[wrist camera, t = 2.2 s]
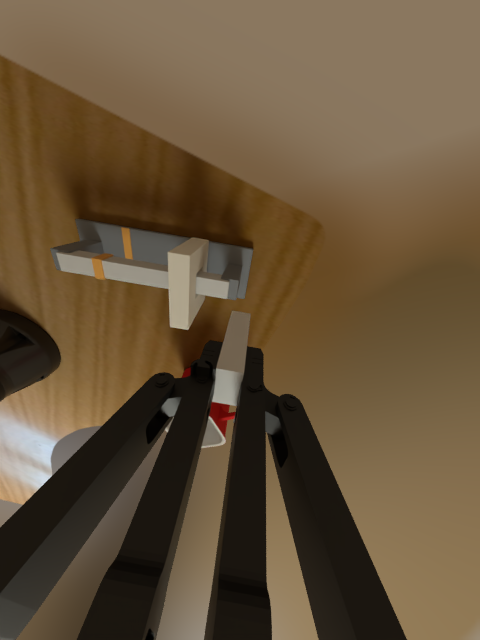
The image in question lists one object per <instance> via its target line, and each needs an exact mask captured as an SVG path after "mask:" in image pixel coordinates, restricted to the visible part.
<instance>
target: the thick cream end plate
mask: <svg viewBox="0 0 480 640" xmlns="http://www.w3.org/2000/svg"><path fill="white" fill-rule="evenodd" d="M208 246H209V240H206V239H200V238H194V237H192V238H191V239H189V240H187V241H186V242H184V243H182V244H180V245H179V246H177V247H175V248H174V249H172V250H170V251H169V252H168V279H169V313H170V327H173V328H179V329H185V330H188V329H189V327H190V326H191V324H192V322H193V320H194V318H195V316H196V315H197V313H198V311H199V309H200V307H201V305H202V304H203V302H204V300H205V295H201V294H195V291H196V274H197V272H198V271H202V272H207V261H208Z"/></svg>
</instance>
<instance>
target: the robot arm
mask: <svg viewBox="0 0 480 640" xmlns="http://www.w3.org/2000/svg"><path fill="white" fill-rule="evenodd" d="M250 315H251V314H249V313H243V312H237V311H232V313H231V316H230V320H229V324H228V327H227V331H226V334H225V338H224V342H217V341H212V340H210V341H209V342H208V343H206V344H205V347H204V349H203V352H202V355H201V357H200V359H198V360H195V361H194V362H193V363H192V364H191V375H190V376H188V377H184V378H174V377H173V375H171V374H170V373H165V372H164V373H158V374H155V375H154V376H152V377H151V378H150V379H149V380H148V381H147V382H146V383H145V384H144V385H143V386H142V387H141V388H140V389H139V390H138V391H137V392H136V393H135V394H134V395H133V396H132V397H131V398H130V399H129V400H128V401H127V402H126V403H125V404H124V405H123V406H122V407H121V408H120V409H119V410H118V411H117V412H116V413H115V414H114V415H113V416H112V417H111V418H110V419H109V420H108V421H107V422H106V423H105V424H104V425H103V426H102V427H101V428H100V429H99V430H98V431H97V432H96V433H95V434H94V435H93V436H92V437H91V438H90V439H89V440H88V441H87V442H86V443H85V444H84V445H83V446H82V447H81V448H80V449H79V450H78V451H77V452H76V453H75V454H74V455H73V456H72V457H71V458H70V459H69V460H68V461H67V462H66V463H65V464H64V465H63V466H62V467H61V468H60V469H59V470H58V471H57V472H56V473H55V474H54V475H53V476H52V477H51V478H50V479H49V480H48V481H47V482H46V483H45V484H44V485H43V486H42V487H41V488H40V489H39V490H38V491H37V492H36V493H35V494H34V495H33V496H32V497H31V498H30V499H29V500H28V501H27V502H26V503H25V504H24V505H23V506H22V507H21V508H20V509H18V511H17V512H16V513H14V515H12V517H10V519H8V520H7V521H6V522H5V524H3V525H2V527H0V640H16V638H17V637H18V636H19V634H20V633H21V631H22V630H23V629H24V628H25V626H26V625H27V624H28V622H29V621H30V620H31V618H32V617H33V615H34V614H35V613H36V611H37V610H38V609H39V607H40V606H41V605H42V603H43V602H44V600H45V599H46V597H47V596H48V595H49V593H50V592H51V590H52V589H53V588H54V586H55V585H56V583H57V582H58V580H59V579H60V578H61V576H62V575H63V573H64V572H65V570H66V569H67V568H68V566H69V565H70V563H71V562H72V561H73V559H74V558H75V556H76V555H77V554H78V552H79V551H80V549H81V548H82V546H83V545H84V544H85V542H86V541H87V539H88V538H89V536H90V535H91V534H92V532H93V531H94V529H95V528H96V527H97V525H98V523H99V522H100V521H101V519H102V518H103V517H104V515H105V514H106V512H107V511H108V510H109V508H110V507H111V505H112V504H113V502H114V501H115V500H116V498H117V497H118V495H119V494H120V492H121V491H122V490H123V488H124V487H125V485H126V484H127V482H128V481H129V480H130V478H131V477H132V476H133V474H134V473H135V471H136V470H137V468H138V467H139V466H140V464H141V463H142V461H143V460H144V458H145V457H146V456H147V454H148V453H149V451H150V450H151V449H152V447H153V446H154V444H155V443H156V441H157V440H158V438H159V437H160V436H161V434H162V433H163V432H164V430H165V429H166V427H167V426H168V425H169V423H170V422H171V420H172V419H173V420H172V423H171V425H170V428H169V430H168V433H167V435H166V438H165V440H164V443H163V445H162V448H161V450H160V453H159V455H158V458H157V460H156V462H155V465H154V467H153V470H152V472H151V475H150V477H149V480H148V482H147V485H146V487H145V490H144V492H143V494H142V497H141V499H140V502H139V504H138V507H137V509H136V512H135V514H134V517H133V519H132V522H131V524H130V527H129V529H128V532H127V534H126V537H125V539H124V542H123V544H122V546H121V549H120V551H119V554H118V555H117V557H116V559H115V561H114V562H113V563H112V565H111V566H110V567H109V568H108V570H107V572H106V574H105V576H104V578H103V580H102V582H101V584H100V586H99V588H98V591H97V593H96V596H95V598H94V600H93V602H92V605H91V607H90V609H89V612H88V614H87V617H86V619H85V621H84V624H83V626H82V628H81V631H80V633H79V636H78V638H77V640H156V636H157V631H158V628H159V623H160V619H161V615H162V610H163V606H164V602H165V596H166V591H167V586H168V581H169V577H170V573H171V569H172V565H173V561H174V557H175V553H176V549H177V545H178V541H179V536H180V532H181V528H182V524H183V520H184V516H185V512H186V508H187V504H188V500H189V496H190V492H191V488H192V484H193V479H194V475H195V471H196V467H197V463H198V459H199V455H200V450H201V447H202V443H203V439H204V435H205V431H206V427H207V422H208V418H209V414H210V410H211V403H212V402H217V403H223V404H228V405H234V406H237V408H236V413H235V417H234V427H233V435H232V442H231V449H230V457H229V464H228V472H227V479H226V487H225V495H224V501H223V509H222V516H221V524H220V532H219V539H218V546H217V554H216V561H215V569H214V576H213V584H212V591H211V597H210V603H209V609H208V615H207V623H206V629H205V637H204V640H272V625H271V606H270V599H269V594H268V590H267V582H266V441H265V440H266V439H265V438H266V436H265V435H266V433H265V432H267V434H268V439H269V443H270V447H271V451H272V455H273V459H274V462H275V467H276V470H277V475H278V479H279V482H280V487H281V490H282V495H283V499H284V502H285V507H286V511H287V515H288V518H289V523H290V527H291V531H292V534H293V538H294V543H295V546H296V550H297V555H298V558H299V562H300V566H301V570H302V574H303V578H304V582H305V586H306V590H307V594H308V598H309V602H310V606H311V610H312V614H313V618H314V622H315V626H316V630H317V634H318V638H319V640H407V639H406V637H405V635H404V632H403V630H402V628H401V625H400V623H399V621H398V619H397V616H396V614H395V612H394V610H393V607H392V605H391V603H390V601H389V599H388V596H387V594H386V592H385V589H384V587H383V585H382V583H381V581H380V578H379V576H378V574H377V571H376V569H375V567H374V565H373V562H372V560H371V558H370V556H369V553H368V551H367V549H366V547H365V544H364V542H363V540H362V538H361V536H360V533H359V531H358V529H357V527H356V524H355V522H354V520H353V517H352V515H351V513H350V511H349V509H348V506H347V504H346V502H345V500H344V497H343V495H342V493H341V490H340V488H339V486H338V484H337V482H336V479H335V477H334V475H333V472H332V470H331V468H330V466H329V463H328V461H327V459H326V457H325V455H324V452H323V450H322V448H321V445H320V443H319V441H318V439H317V436H316V434H315V432H314V430H313V428H312V425H311V423H310V421H309V418H308V416H307V414H306V412H305V410H304V407H303V405H302V403H301V402H300V400H299V399H298V398H296V397H295V396H293V395H290V394H284V395H281V396H280V397H279V396H276V395H275V394H272V393H271V392H269V391H268V390H267V389H266V388H265V386H264V382H263V353H262V351H261V349H259V348H254V347H248V346H247V342H248V333H249V324H250ZM59 365H60V353H59V351H58V348H57V346H56V345H55V343H54V342H53V340H52V339H51V338H50V337H49V336H48V335H47V334H46V333H45V332H44V331H43V330H42V329H41V328H40V327H38V326H37V325H36V324H34V323H33V322H31V321H29V320H28V319H26V318H24V317H22V316H20V315H18V314H15V313H12V312H9V311H5V310H0V401H2V400H3V399H4V398H6V397H7V396H9V395H11V394H13V393H15V392H17V391H19V390H21V389H24V388H26V387H28V386H30V385H32V384H34V383H35V382H38V381H41V380H43V379H45V378H46V377H48V376H49V375H50V374H51V373H53V372H54V371H55V370H56V369H57V368H58V367H59ZM173 417H174V418H173Z"/></svg>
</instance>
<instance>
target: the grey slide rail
mask: <svg viewBox="0 0 480 640" xmlns="http://www.w3.org/2000/svg"><path fill="white" fill-rule="evenodd" d="M75 220H76V224H77V229H78V233H79V237H80V241H79V242H74V243H70V244H66V245H62V246H58V247H54V248H50V249H51V253H52V256H53V259H54V262H55V265H56V269H57V270H61V271H66V272H72V273H78V274H84V275H89V276H95V278H96V279H102V280H105V279H113V280H119V281H125V282H130V283H136V284H142V285H148V286H154V287H160V288H165V289H169V279H168V252H169V251H170V250H172V249H174V248H175V247H177V246H179V245H180V244H182V243H184V242H186V241H187V240H189V239H191V238H189V237H184V236H178V235H172V234H166V233H160V232H154V231H149V230H143V229H137V228H131V227H125V226H119V225H114V224H108V223H102V222H96V221H90V220H85V219H75ZM252 253H253V248H248V247H242V246H236V245H230V244H224V243H219V242H213V241H209V246H208V261H207V272H202V271H198V272H197V274H196V291H195V294H201V295H206V296H212V297H218V298H224V299H232V300H236V298H242V299H245V293H246V287H247V281H248V276H249V270H250V264H251V258H252Z"/></svg>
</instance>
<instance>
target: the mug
mask: <svg viewBox="0 0 480 640" xmlns="http://www.w3.org/2000/svg"><path fill="white" fill-rule="evenodd" d="M190 375H191V367H189V368H187V369H185V371H184V373H183V376H182V378H184V377H188V376H190ZM229 406H230V405H228V404H223V403H217V402H212V403H211V410H210V414H209V418H208V422H207V427H206V431H205V435H204V439H203V443H202V447H201V448H205V447H213V446H220V445H223V444H224V443H225V442H226V438H225V432H226V426H227V420H230V419H234V417H235V413H236V412H231V413H228V412H229ZM173 418H174V417H173ZM172 420H173V419H172ZM172 420H171V422H170V423H169V425H168V426H167V427H166V429H165V431H166V432H167V433H168V430H169V428H170V425H171V423H172Z"/></svg>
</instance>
